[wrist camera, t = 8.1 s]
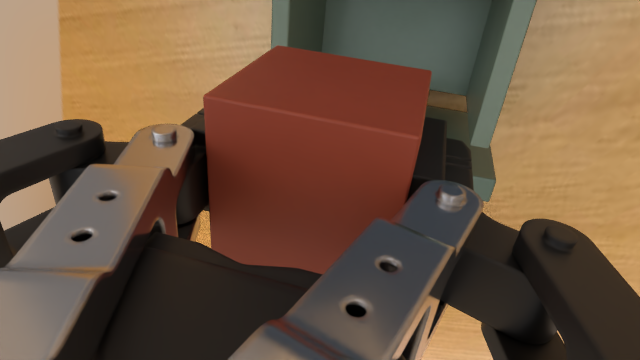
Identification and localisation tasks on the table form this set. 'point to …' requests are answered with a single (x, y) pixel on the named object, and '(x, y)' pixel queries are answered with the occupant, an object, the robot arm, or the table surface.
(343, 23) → the drawer
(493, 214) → the table surface
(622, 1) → the table surface
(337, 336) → the robot arm
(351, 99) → the block
